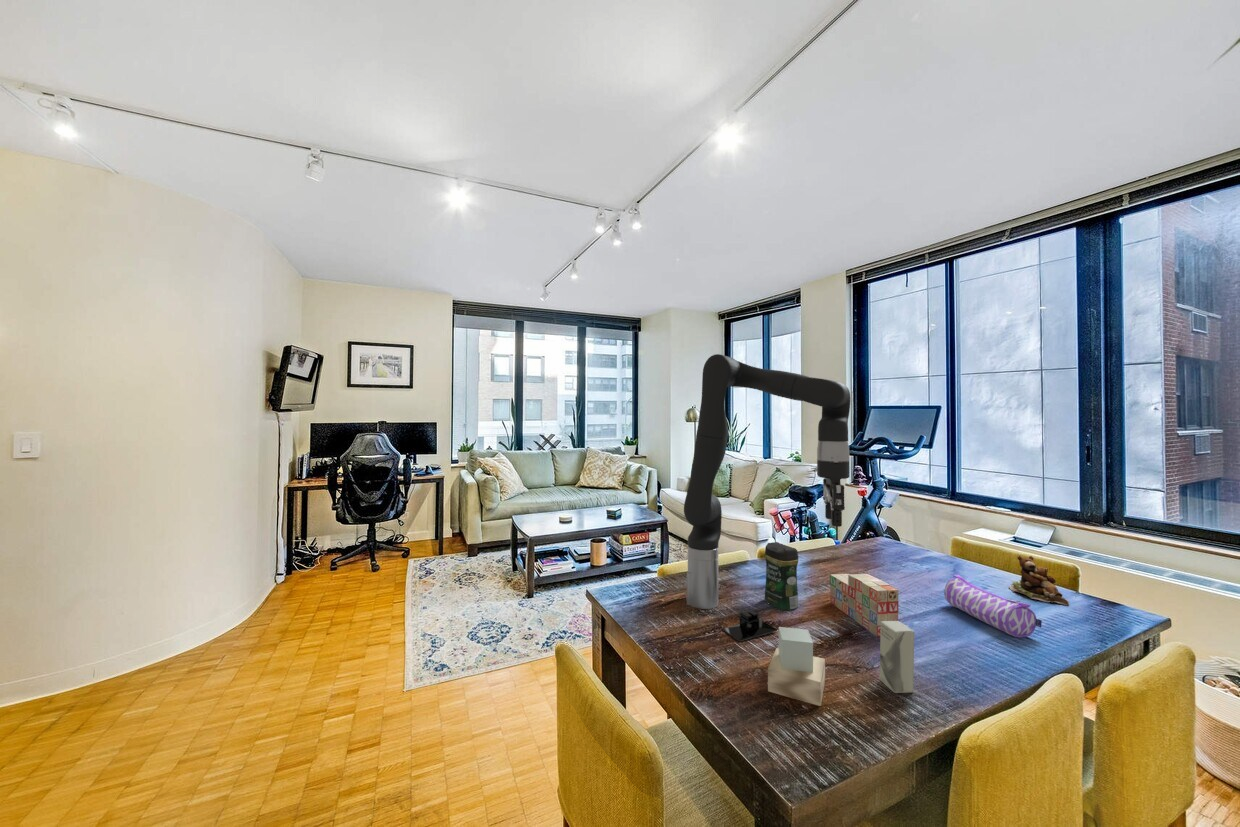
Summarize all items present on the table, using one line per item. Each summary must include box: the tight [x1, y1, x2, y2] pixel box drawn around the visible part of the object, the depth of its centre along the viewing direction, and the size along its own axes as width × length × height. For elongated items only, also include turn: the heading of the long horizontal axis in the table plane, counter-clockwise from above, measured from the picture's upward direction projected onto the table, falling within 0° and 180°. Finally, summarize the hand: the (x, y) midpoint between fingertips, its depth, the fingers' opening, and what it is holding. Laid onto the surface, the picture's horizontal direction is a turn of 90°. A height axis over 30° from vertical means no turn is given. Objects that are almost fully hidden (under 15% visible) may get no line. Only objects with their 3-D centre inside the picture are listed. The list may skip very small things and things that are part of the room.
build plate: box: [722, 609, 778, 642], centre depth 120 cm, size 12×7×5 cm, turn 114°
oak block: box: [767, 647, 826, 707], centre depth 96 cm, size 10×10×5 cm
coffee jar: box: [764, 541, 799, 611], centre depth 137 cm, size 10×8×19 cm
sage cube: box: [778, 626, 814, 673], centre depth 96 cm, size 6×6×6 cm
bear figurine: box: [1008, 555, 1071, 607], centre depth 146 cm, size 14×15×12 cm
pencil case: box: [943, 574, 1043, 638], centre depth 127 cm, size 22×9×10 cm, turn 9°
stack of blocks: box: [829, 573, 900, 638], centre depth 129 cm, size 21×6×12 cm, turn 7°
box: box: [879, 620, 916, 694], centre depth 95 cm, size 5×4×13 cm
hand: (833, 522), depth 116 cm, fingers open, 8 cm apart
